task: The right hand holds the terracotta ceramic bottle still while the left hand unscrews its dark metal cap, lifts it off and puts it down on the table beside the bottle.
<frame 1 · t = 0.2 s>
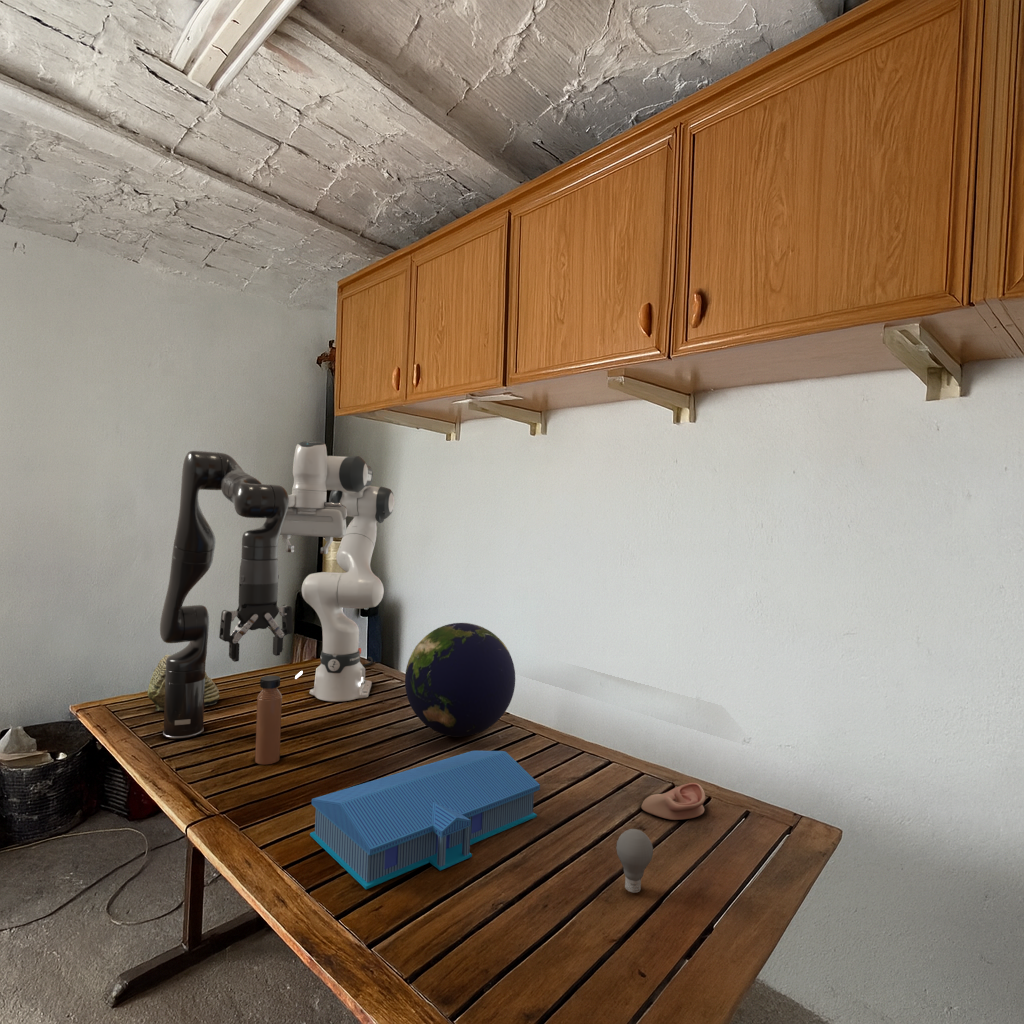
left hand: (256, 657, 132), 29 cm above the table, tool pointing down, fingers open, 8 cm apart
right hand: (307, 553, 170), 48 cm above the table, tool pointing down, fingers open, 8 cm apart
model building: (432, 829, 123), on the table
globe: (458, 733, 173), on the table
fossil: (183, 706, 185), on the table
bottle: (267, 759, 151), on the table
light bulb: (632, 891, 106), on the table
anatomical model: (672, 808, 135), on the table
cap: (270, 679, 151), point 19 cm above the table, screwed on, not yet turned
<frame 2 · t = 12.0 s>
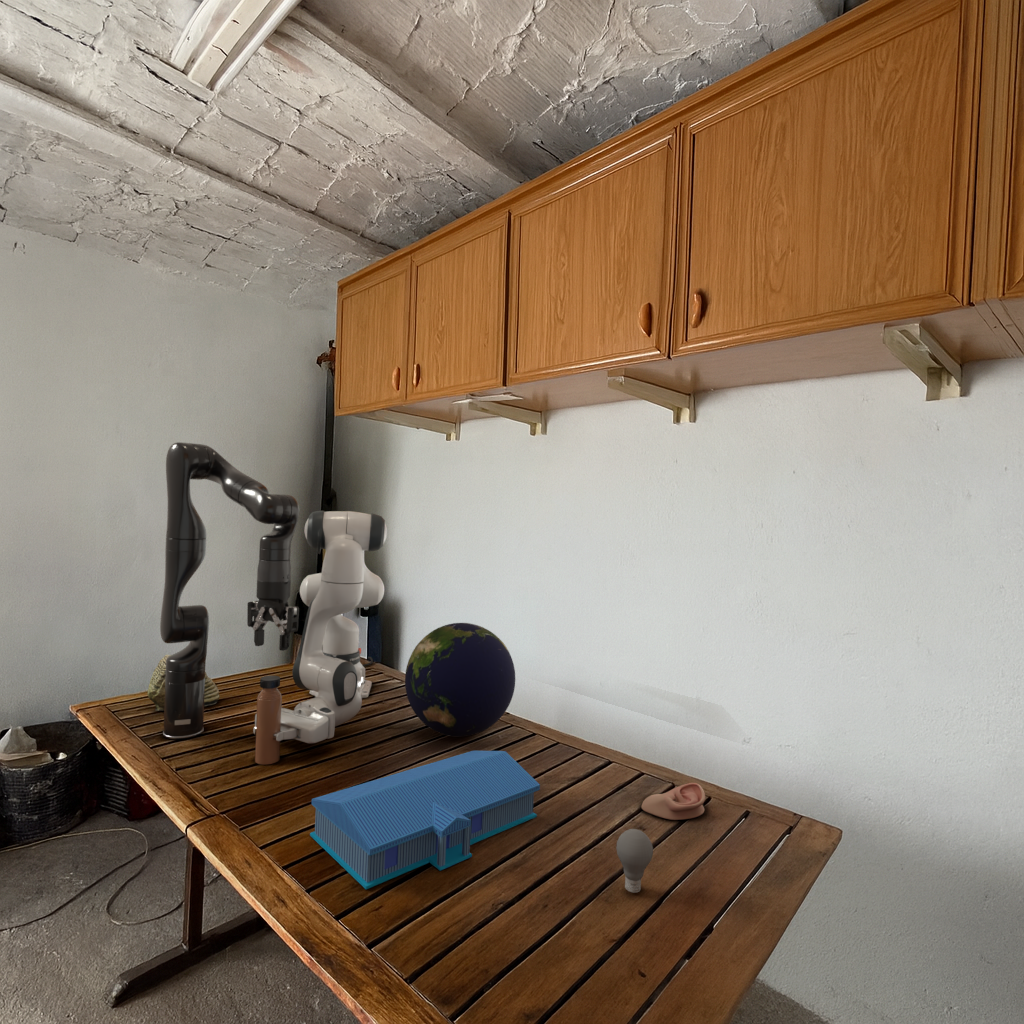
left hand: (271, 647, 150), 27 cm above the table, tool pointing down, fingers open, 7 cm apart
right hand: (265, 734, 150), 6 cm above the table, tool horizontal, fingers closed on bottle, 5 cm apart
bottle: (267, 759, 151), on the table, touching right hand
everything else where it was.
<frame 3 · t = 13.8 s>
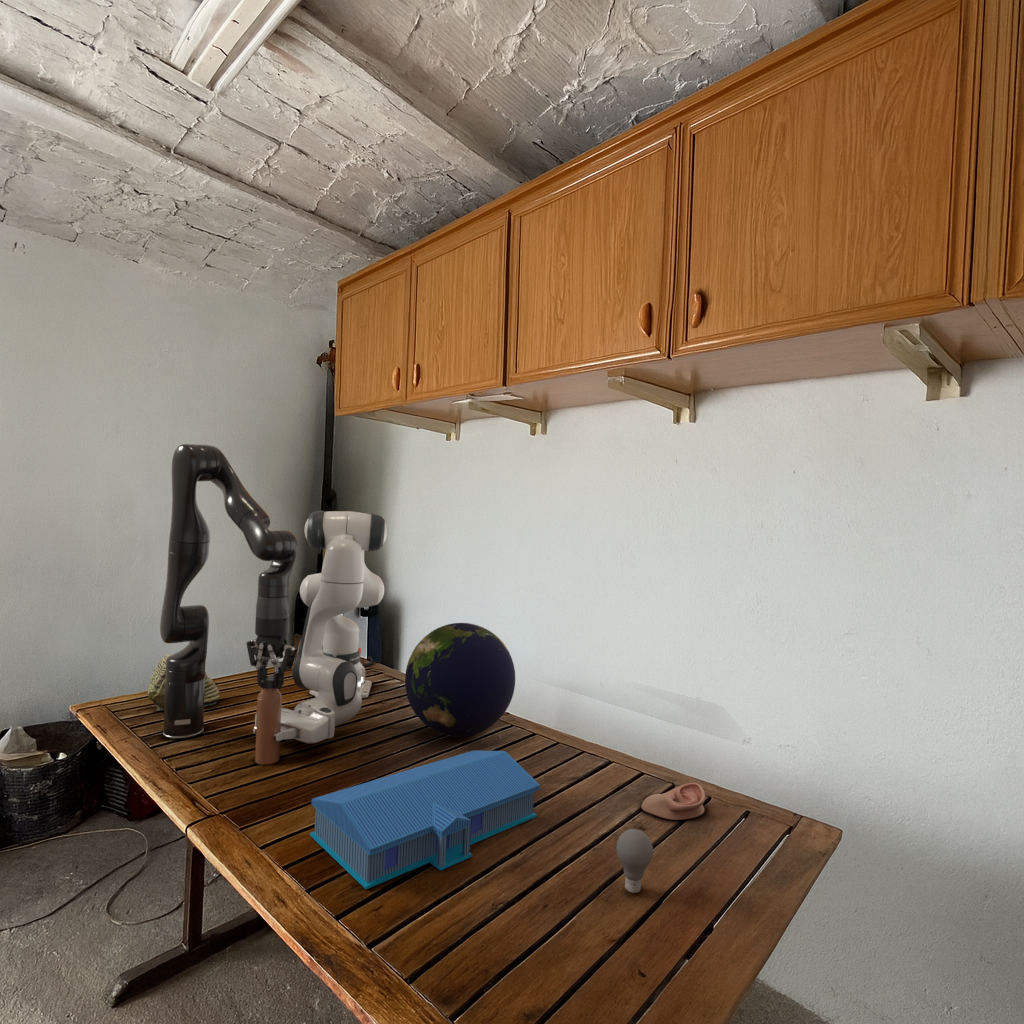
left hand: (270, 685, 151), 18 cm above the table, tool pointing down, fingers closed on cap, 4 cm apart
right hand: (265, 734, 150), 6 cm above the table, tool horizontal, fingers closed on bottle, 5 cm apart
bottle: (267, 759, 151), on the table, touching right hand
cap: (270, 679, 151), point 19 cm above the table, screwed on, not yet turned, touching left hand
everything else where it was.
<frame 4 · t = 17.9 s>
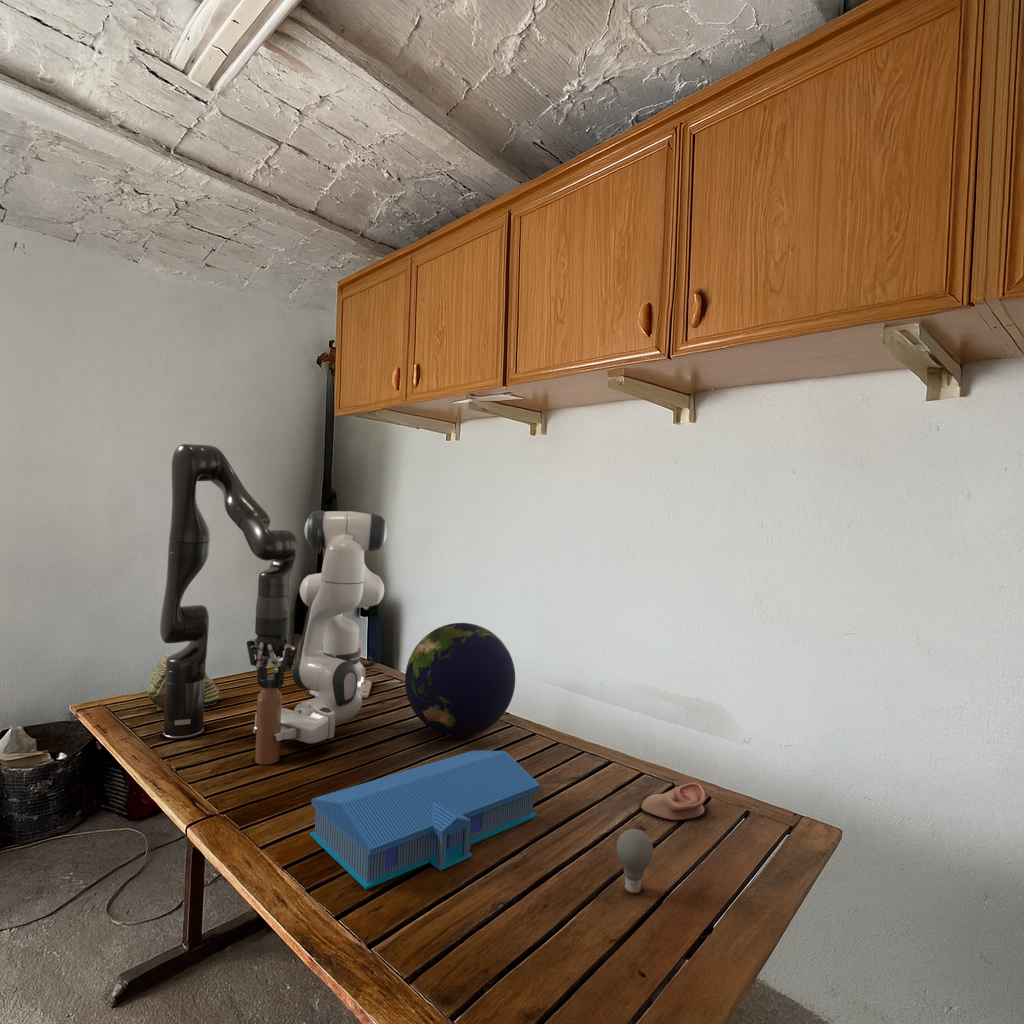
left hand: (270, 685, 151), 18 cm above the table, tool pointing down, fingers closed on cap, 4 cm apart
right hand: (265, 734, 150), 6 cm above the table, tool horizontal, fingers closed on bottle, 5 cm apart
bottle: (267, 759, 151), on the table, touching right hand
cap: (270, 678, 151), point 19 cm above the table, turned 96° so far, risen 0.1 cm, still on its thread, touching left hand
everything else where it was.
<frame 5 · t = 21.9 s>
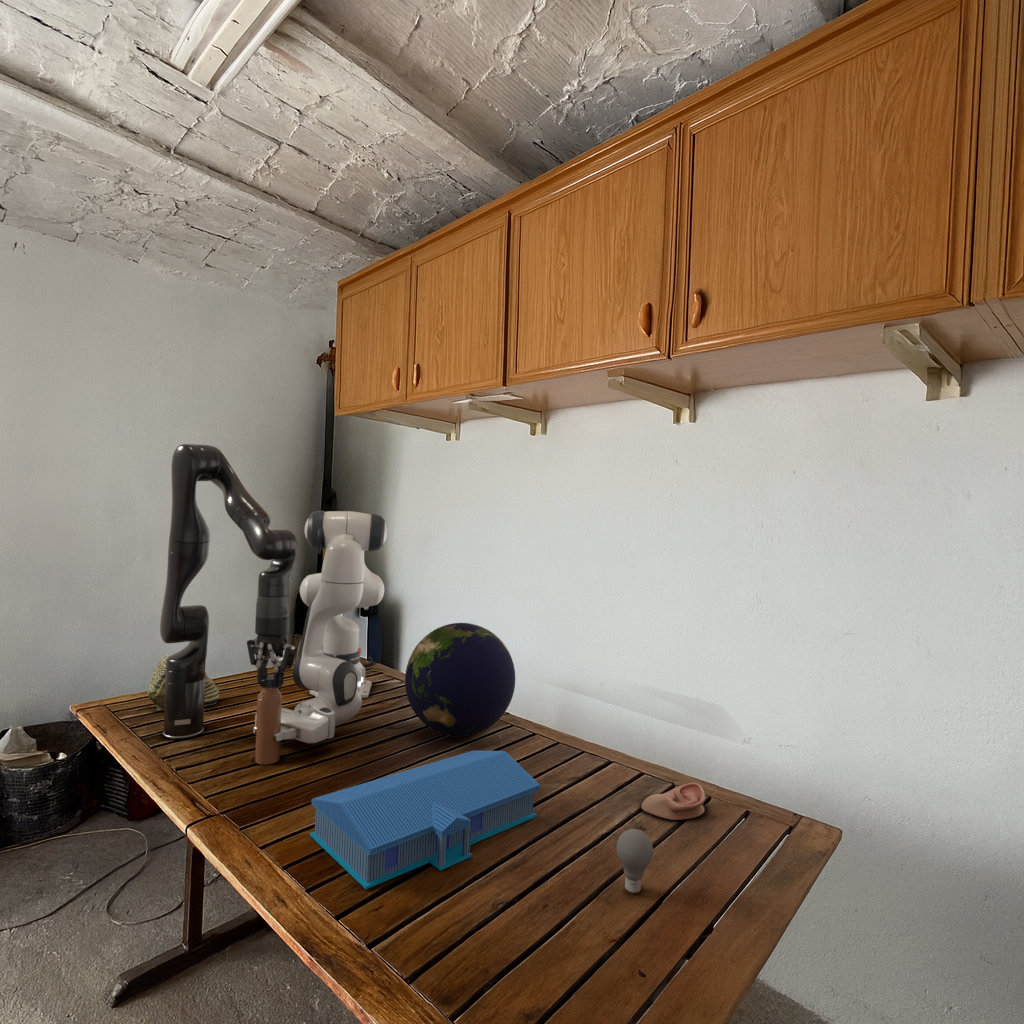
left hand: (270, 685, 151), 18 cm above the table, tool pointing down, fingers closed on cap, 4 cm apart
right hand: (265, 734, 150), 6 cm above the table, tool horizontal, fingers closed on bottle, 5 cm apart
bottle: (267, 759, 151), on the table, touching right hand
cap: (270, 678, 151), point 20 cm above the table, turned 193° so far, risen 0.2 cm, still on its thread, touching left hand
everything else where it was.
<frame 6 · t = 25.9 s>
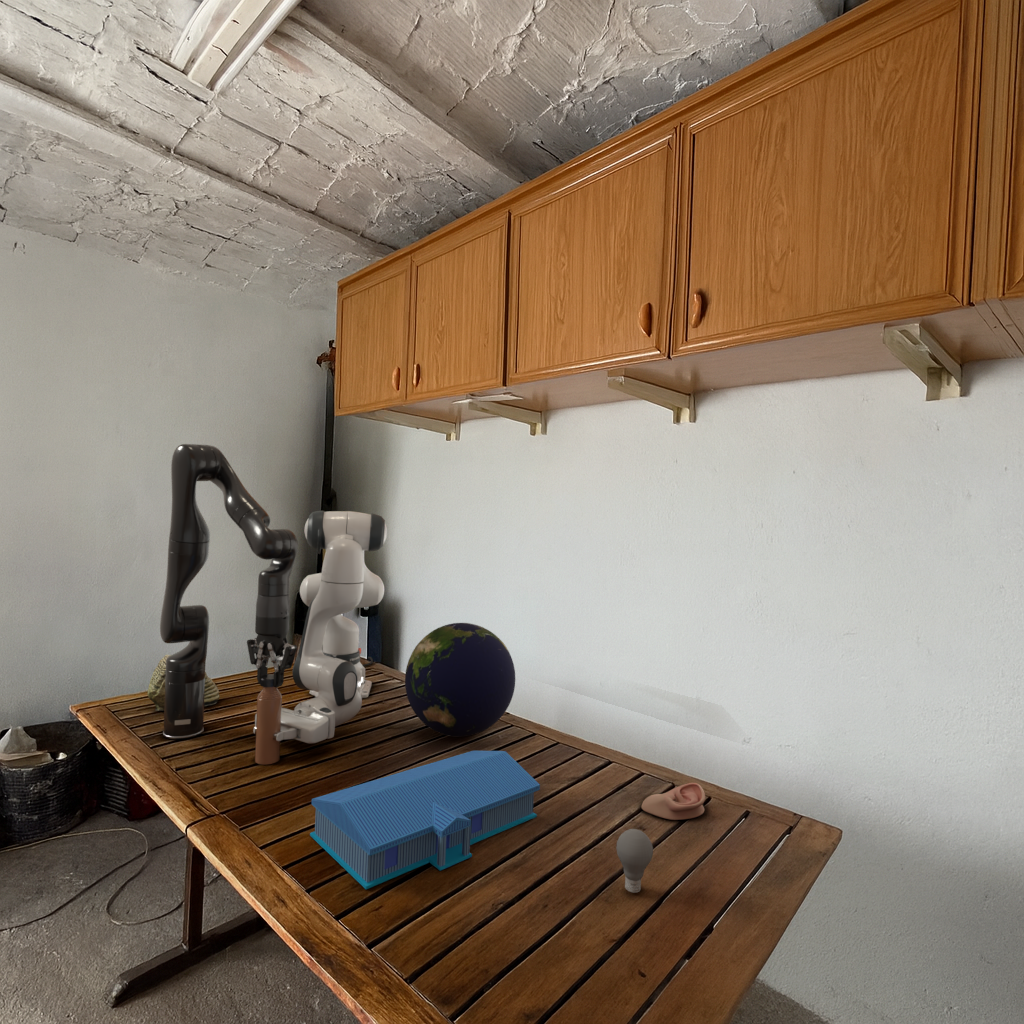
left hand: (270, 684, 151), 18 cm above the table, tool pointing down, fingers closed on cap, 4 cm apart
right hand: (265, 734, 150), 6 cm above the table, tool horizontal, fingers closed on bottle, 5 cm apart
bottle: (267, 759, 151), on the table, touching right hand
cap: (270, 677, 151), point 20 cm above the table, turned 289° so far, risen 0.3 cm, still on its thread, touching left hand
everything else where it was.
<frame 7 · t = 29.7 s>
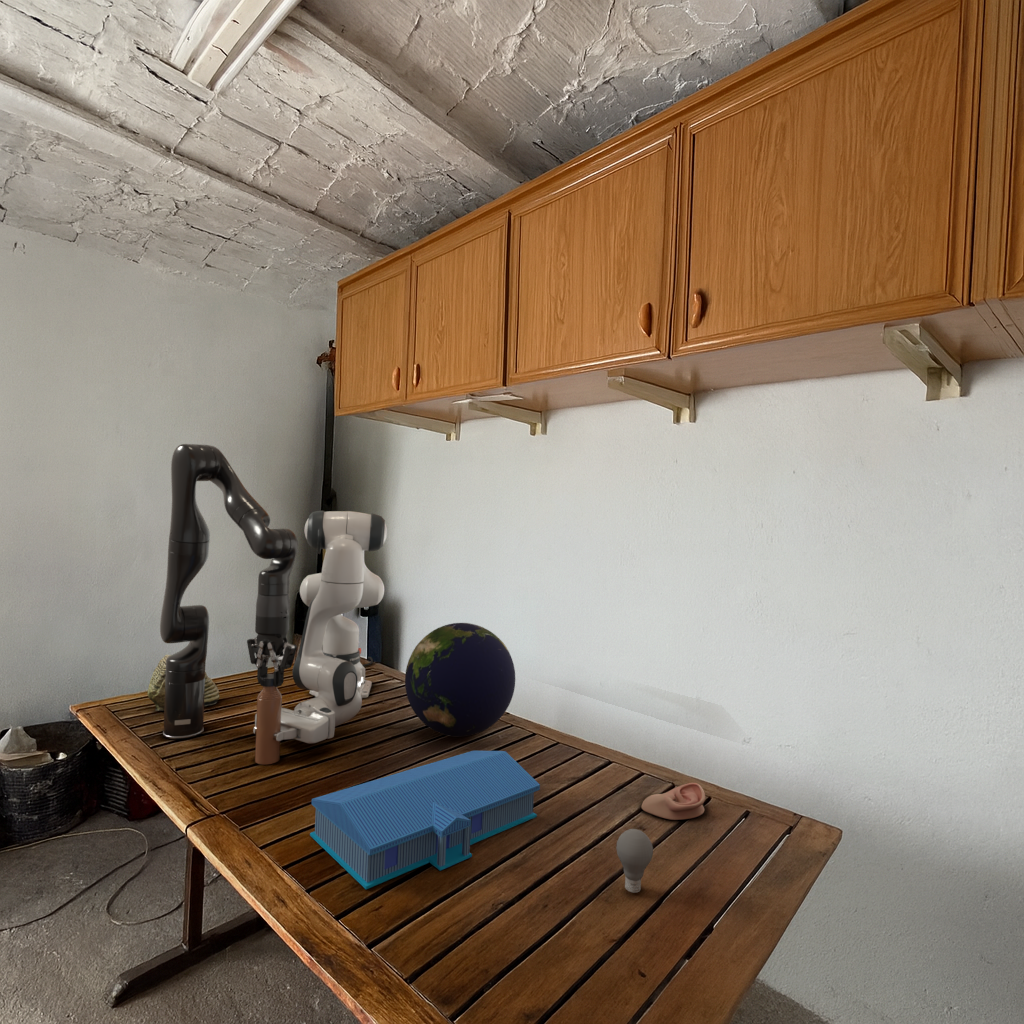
left hand: (270, 684, 151), 18 cm above the table, tool pointing down, fingers closed on cap, 4 cm apart
right hand: (265, 734, 150), 6 cm above the table, tool horizontal, fingers closed on bottle, 5 cm apart
bottle: (267, 759, 151), on the table, touching right hand
cap: (270, 677, 151), point 20 cm above the table, turned 386° so far, risen 0.5 cm, still on its thread, touching left hand
everything else where it was.
when the left hand's fingers open (1 cm above the table, at t = 37.5 s): cap stays where it is, point 2 cm above the table.
when the right hand's fingers open (6 cm above the table, at t = 38.7 s): bottle stays where it is, on the table.
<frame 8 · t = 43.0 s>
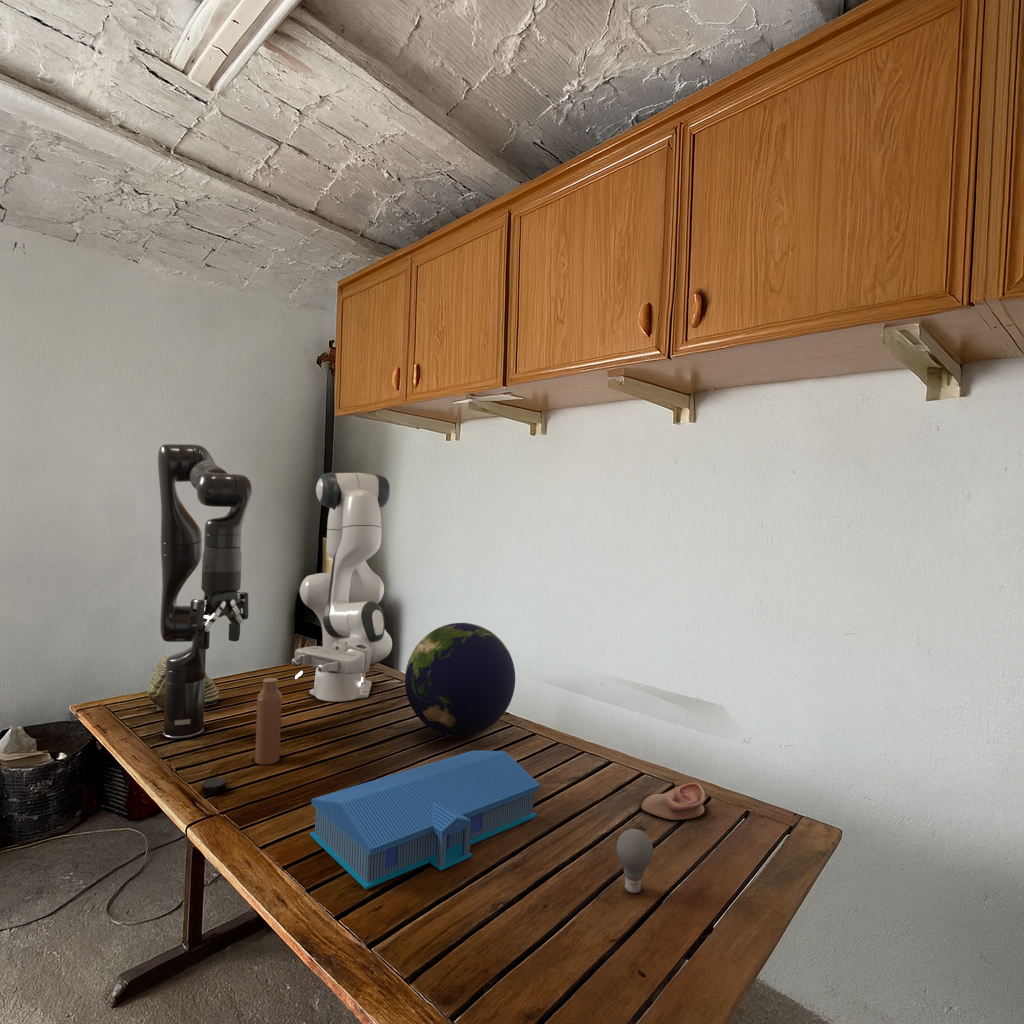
left hand: (219, 644, 134), 31 cm above the table, tool pointing down, fingers open, 8 cm apart
right hand: (306, 665, 160), 20 cm above the table, tool horizontal, fingers open, 8 cm apart
bottle: (267, 759, 151), on the table
cap: (214, 783, 134), point 2 cm above the table, off its thread
everything else where it was.
at the end: cap came off its thread; cap point 1.6 cm above the table; the left hand is holding nothing; the right hand is holding nothing; bottle tilted 0°; bottle moved 0.0 cm from its start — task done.
